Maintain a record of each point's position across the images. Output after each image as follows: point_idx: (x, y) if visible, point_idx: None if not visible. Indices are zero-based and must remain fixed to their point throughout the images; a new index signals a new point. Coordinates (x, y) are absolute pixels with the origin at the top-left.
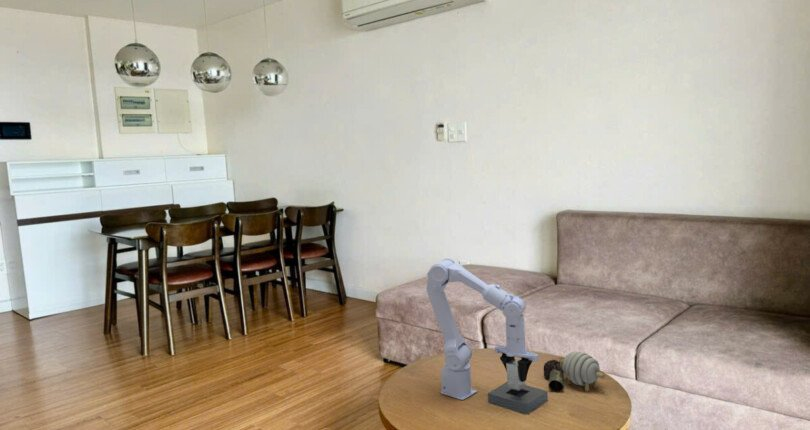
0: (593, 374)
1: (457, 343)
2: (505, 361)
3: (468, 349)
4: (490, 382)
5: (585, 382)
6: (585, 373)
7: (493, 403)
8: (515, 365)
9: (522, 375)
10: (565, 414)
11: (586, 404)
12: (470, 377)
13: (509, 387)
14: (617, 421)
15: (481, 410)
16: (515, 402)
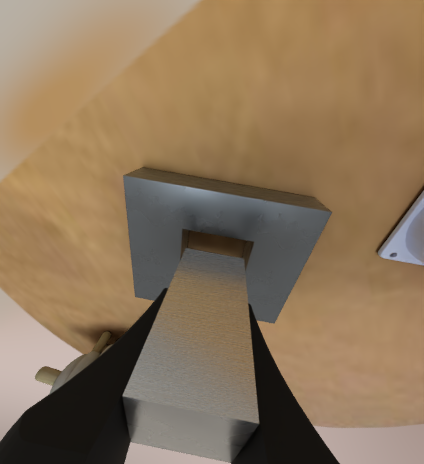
0: (58, 376)
1: None
2: (273, 448)
3: None
4: (337, 318)
5: (95, 351)
6: (68, 377)
7: (290, 193)
8: (145, 399)
9: (142, 316)
10: (61, 221)
11: (67, 285)
12: None
13: (234, 258)
14: None
15: (328, 107)
16: (182, 184)
